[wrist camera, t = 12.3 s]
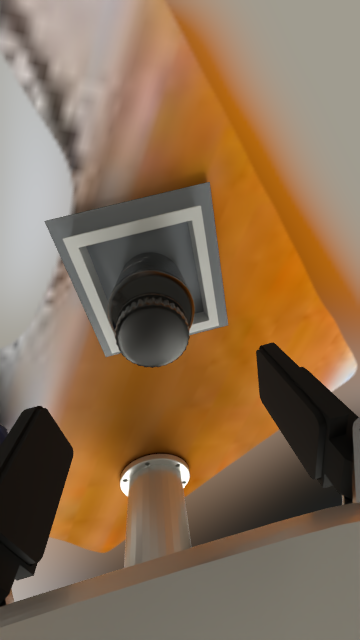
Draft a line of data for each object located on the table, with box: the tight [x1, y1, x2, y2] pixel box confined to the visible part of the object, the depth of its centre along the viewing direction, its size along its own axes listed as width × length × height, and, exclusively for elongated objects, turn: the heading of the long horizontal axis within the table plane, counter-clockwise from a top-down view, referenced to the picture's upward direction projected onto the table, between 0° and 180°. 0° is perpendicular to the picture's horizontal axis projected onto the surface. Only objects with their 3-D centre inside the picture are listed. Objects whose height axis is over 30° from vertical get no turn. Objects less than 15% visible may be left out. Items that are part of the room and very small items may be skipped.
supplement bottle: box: [108, 252, 195, 368], centre depth 19 cm, size 7×7×12 cm
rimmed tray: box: [45, 182, 228, 357], centre depth 24 cm, size 16×16×4 cm
